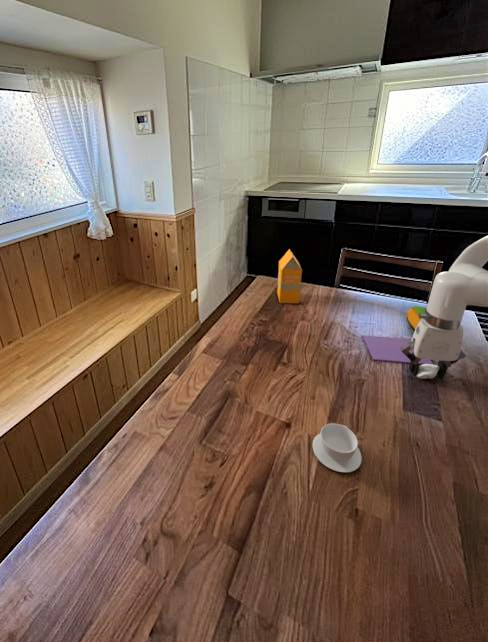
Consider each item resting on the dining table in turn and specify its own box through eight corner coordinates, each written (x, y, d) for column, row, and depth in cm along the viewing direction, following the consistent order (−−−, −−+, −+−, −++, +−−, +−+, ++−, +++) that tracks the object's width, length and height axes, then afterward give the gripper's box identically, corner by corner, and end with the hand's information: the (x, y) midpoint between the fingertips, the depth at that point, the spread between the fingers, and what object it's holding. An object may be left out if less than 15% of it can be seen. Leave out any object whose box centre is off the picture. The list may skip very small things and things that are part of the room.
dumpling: (432, 387, 90) (431, 376, 89) (411, 379, 94) (409, 368, 93) (444, 372, 93) (443, 361, 92) (423, 365, 97) (422, 354, 96)
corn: (428, 300, 116) (456, 333, 98) (424, 319, 119) (451, 354, 101) (403, 300, 117) (427, 332, 100) (401, 318, 120) (423, 353, 103)
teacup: (352, 483, 68) (356, 467, 66) (305, 455, 74) (306, 440, 72) (367, 448, 75) (370, 433, 73) (322, 425, 81) (324, 411, 79)
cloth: (417, 340, 108) (417, 339, 108) (433, 365, 97) (433, 364, 97) (363, 336, 111) (363, 335, 111) (372, 360, 101) (373, 358, 101)
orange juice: (295, 292, 141) (299, 248, 133) (299, 303, 133) (303, 256, 125) (276, 292, 142) (279, 248, 134) (279, 303, 134) (282, 256, 126)
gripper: (410, 324, 85) (396, 380, 92) (489, 329, 81) (468, 387, 88) (399, 309, 91) (387, 362, 99) (473, 313, 88) (454, 368, 95)
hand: (426, 373), depth 93 cm, fingers closed on dumpling, 5 cm apart
